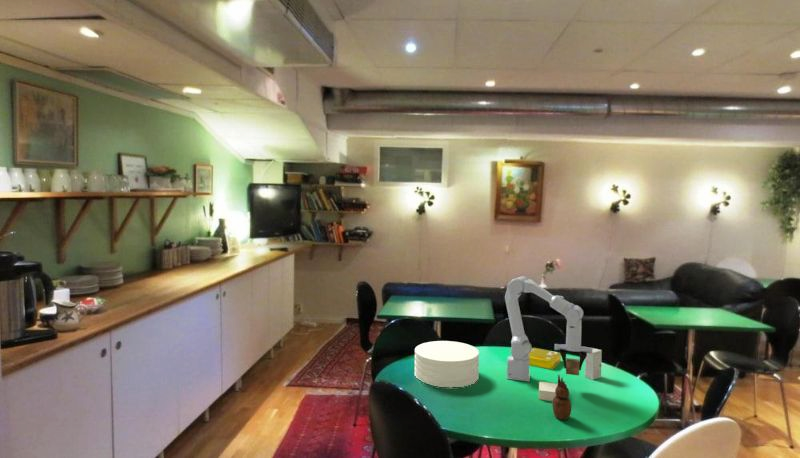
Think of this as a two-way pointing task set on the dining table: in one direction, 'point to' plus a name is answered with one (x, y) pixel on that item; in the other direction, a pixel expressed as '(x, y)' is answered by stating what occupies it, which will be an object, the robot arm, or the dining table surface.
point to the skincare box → (593, 364)
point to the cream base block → (547, 391)
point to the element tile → (544, 358)
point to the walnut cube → (572, 366)
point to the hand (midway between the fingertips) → (572, 368)
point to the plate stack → (447, 363)
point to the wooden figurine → (561, 401)
